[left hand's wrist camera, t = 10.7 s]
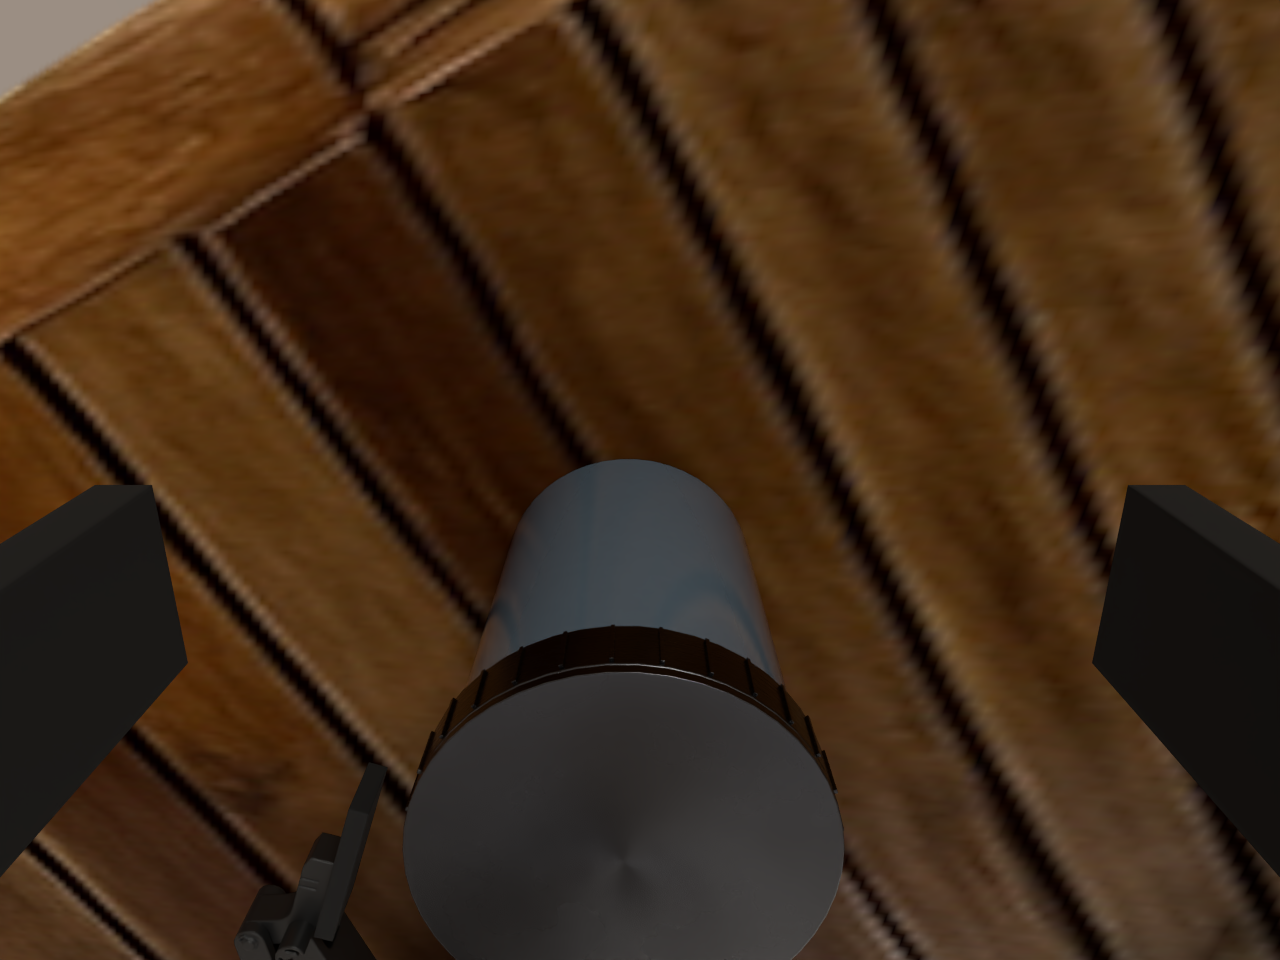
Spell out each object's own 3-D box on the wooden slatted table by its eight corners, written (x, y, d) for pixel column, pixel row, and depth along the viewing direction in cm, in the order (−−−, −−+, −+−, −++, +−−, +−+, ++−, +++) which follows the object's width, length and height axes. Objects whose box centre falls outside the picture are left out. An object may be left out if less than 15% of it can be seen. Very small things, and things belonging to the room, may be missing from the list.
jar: (793, 601, 39) (892, 890, 24) (597, 713, 41) (576, 1045, 26) (663, 411, 36) (683, 605, 21) (459, 542, 38) (342, 805, 23)
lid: (902, 846, 26) (926, 908, 23) (575, 1009, 28) (570, 1079, 26) (686, 543, 22) (692, 585, 20) (334, 756, 24) (306, 813, 22)
